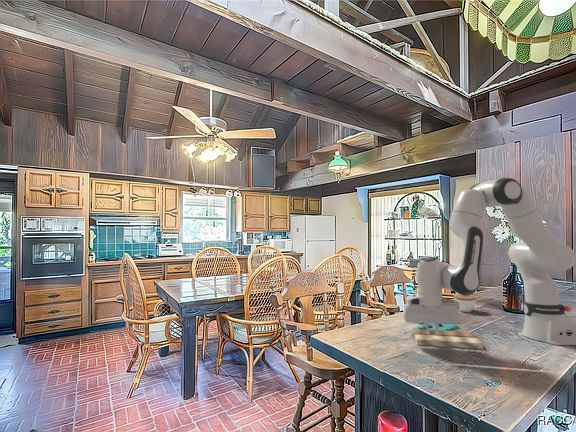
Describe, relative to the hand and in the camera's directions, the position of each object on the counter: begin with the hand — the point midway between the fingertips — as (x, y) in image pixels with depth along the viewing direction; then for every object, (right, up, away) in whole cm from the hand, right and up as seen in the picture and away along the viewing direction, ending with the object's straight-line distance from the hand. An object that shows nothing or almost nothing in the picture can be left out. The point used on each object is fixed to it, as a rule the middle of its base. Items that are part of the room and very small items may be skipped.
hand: (431, 334), depth 123 cm
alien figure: (+10, -6, +22) cm, 25 cm away
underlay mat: (+7, -4, +3) cm, 8 cm away
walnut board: (+7, -4, +6) cm, 11 cm away
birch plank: (+6, -3, -1) cm, 7 cm away
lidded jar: (+40, -5, +47) cm, 62 cm away
